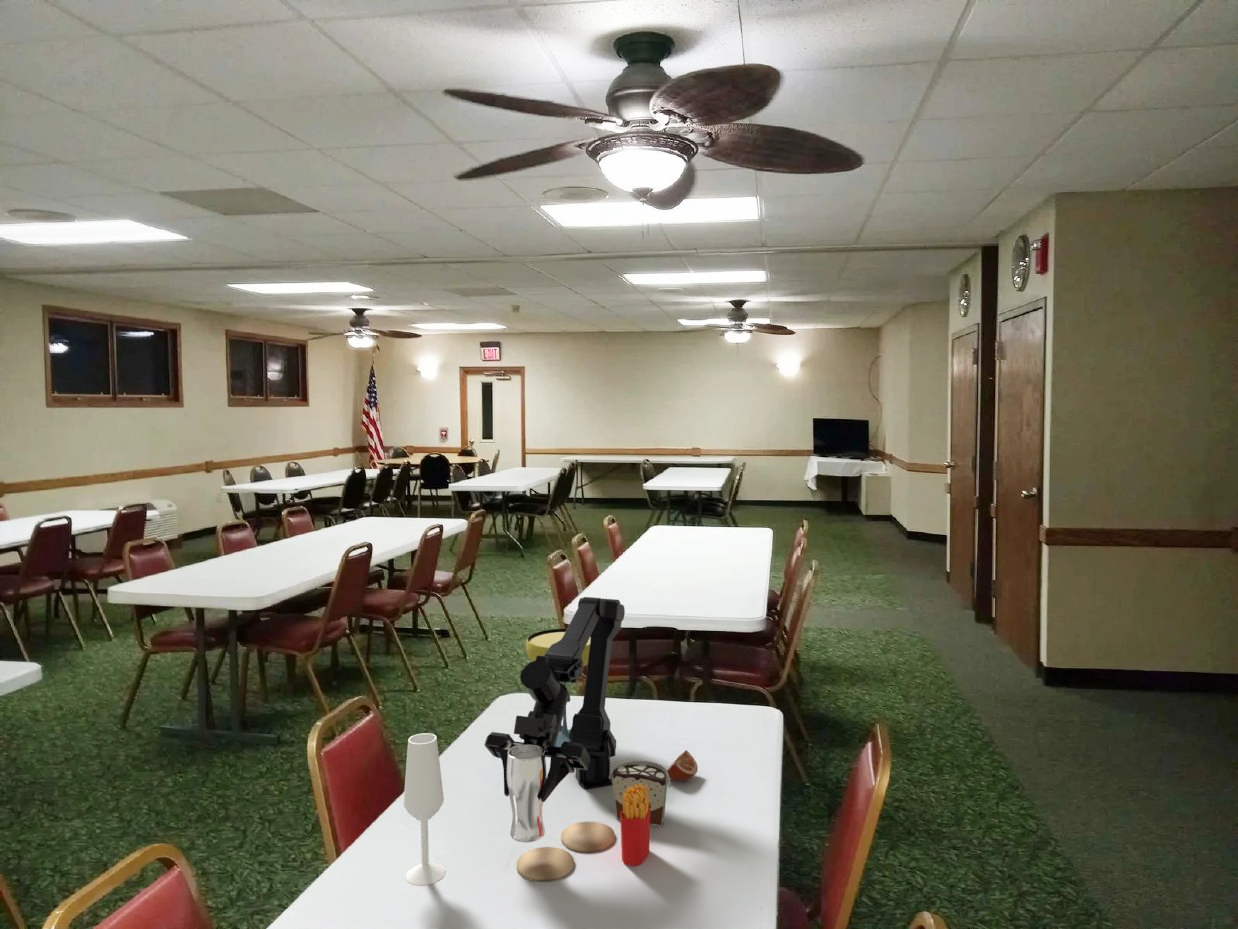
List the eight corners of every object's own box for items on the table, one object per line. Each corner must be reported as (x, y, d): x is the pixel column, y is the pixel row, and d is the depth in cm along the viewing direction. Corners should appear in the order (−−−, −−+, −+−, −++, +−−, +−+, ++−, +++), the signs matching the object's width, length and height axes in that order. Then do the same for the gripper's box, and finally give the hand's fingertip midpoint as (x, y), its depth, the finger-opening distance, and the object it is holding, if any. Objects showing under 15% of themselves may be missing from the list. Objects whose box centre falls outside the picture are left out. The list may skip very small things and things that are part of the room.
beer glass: (546, 843, 143) (544, 759, 142) (506, 844, 143) (504, 760, 142) (548, 823, 150) (547, 742, 149) (509, 824, 150) (508, 743, 149)
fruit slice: (673, 768, 185) (673, 746, 184) (702, 773, 182) (702, 751, 182) (660, 784, 177) (660, 761, 177) (690, 789, 174) (690, 766, 174)
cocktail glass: (560, 719, 214) (559, 624, 212) (616, 735, 203) (616, 635, 202) (511, 743, 199) (510, 640, 197) (570, 761, 189) (569, 653, 187)
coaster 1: (564, 846, 152) (563, 842, 152) (581, 874, 143) (581, 871, 143) (510, 856, 148) (510, 853, 148) (524, 886, 139) (524, 883, 139)
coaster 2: (603, 820, 161) (603, 817, 161) (622, 845, 152) (622, 842, 152) (554, 830, 158) (554, 827, 158) (570, 856, 148) (570, 853, 148)
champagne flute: (408, 889, 139) (405, 749, 137) (402, 869, 145) (399, 734, 143) (449, 879, 141) (446, 742, 140) (441, 860, 147) (438, 728, 146)
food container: (678, 813, 164) (678, 764, 163) (669, 828, 158) (669, 777, 158) (619, 804, 168) (618, 756, 167) (609, 818, 162) (608, 768, 162)
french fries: (637, 870, 144) (637, 803, 143) (616, 865, 145) (616, 799, 145) (654, 846, 152) (654, 782, 151) (634, 842, 153) (634, 779, 152)
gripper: (487, 689, 151) (459, 773, 142) (583, 699, 145) (560, 789, 136) (507, 715, 159) (482, 797, 150) (599, 726, 153) (578, 812, 144)
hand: (524, 798), depth 145 cm, fingers closed on beer glass, 7 cm apart
